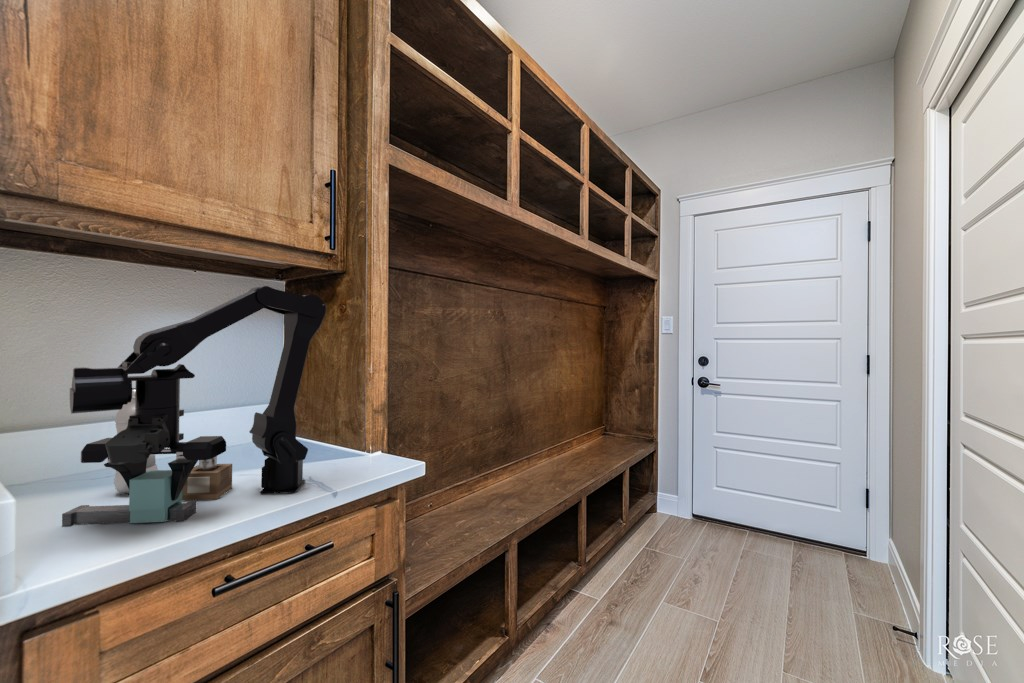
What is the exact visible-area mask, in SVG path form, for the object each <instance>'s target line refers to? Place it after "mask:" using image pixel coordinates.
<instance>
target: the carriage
mask: <svg viewBox="0 0 1024 683" xmlns="http://www.w3.org/2000/svg"><path fill="white" fill-rule="evenodd" d="M171 480H172V470H171V469H161V470H160V469H159V470H152V471H148V472H146V473H144V474H142V475H139V476H137V477H135V478H133V479H131V480H130V489H129V493H128V494H129V495H128V496H129V498H128V499H129V501H128V505H129V511H130V522H129V523H130V524H136V523H137V524H139V523H141V524H142V523H143V524H144V523H163V522H164V523H165V522H168V521H167V520H168V507H170V506H171V505H173V504H174V503H182V501H181V499H182V491H181V493H180V495H179V497H178V499H176V500H174V501H172V499H171Z"/></svg>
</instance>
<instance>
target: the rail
mask: <svg viewBox="0 0 1024 683" xmlns="http://www.w3.org/2000/svg"><path fill="white" fill-rule="evenodd" d="M196 513H197V500H191V501H187V502H181V503H174V504H173V505H171V506H170V507H168V520H167V521H166V522H171V521H174V522H176V523H183V522H185V521H187V520H188V519H190V518H191V517H192V516H194V515H195V514H196ZM61 518H62V520H61V527H62V528H63V527H72V526H74V525H79V526H80V525H97V524H99V525H101V524H120V523H121V524H123V523H124V524H126V523H130V511H129V504H121V505H119V504H118V505H117V504H116V505H94V506H93V505H92V506H91V505H89V504H84V505H83V504H81V505H79V506H77V507H75V508H72V509H70V510H68V511H66V512H63V513H62V514H61Z"/></svg>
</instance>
